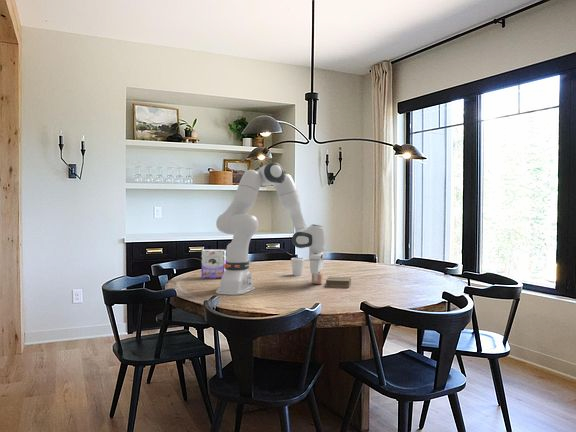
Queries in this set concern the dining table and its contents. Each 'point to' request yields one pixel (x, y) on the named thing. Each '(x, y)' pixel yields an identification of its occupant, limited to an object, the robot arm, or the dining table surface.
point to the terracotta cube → (318, 278)
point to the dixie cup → (297, 266)
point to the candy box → (213, 263)
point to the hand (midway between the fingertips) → (317, 279)
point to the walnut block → (338, 282)
